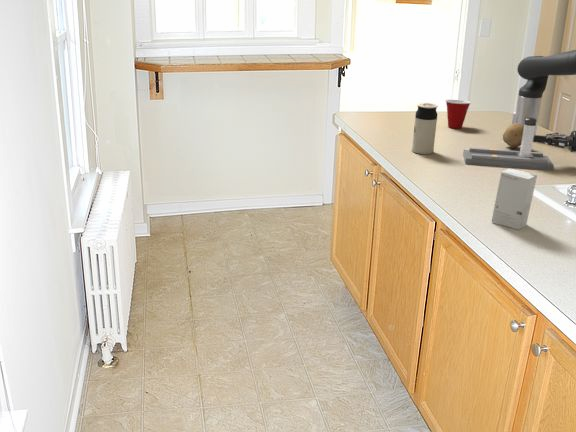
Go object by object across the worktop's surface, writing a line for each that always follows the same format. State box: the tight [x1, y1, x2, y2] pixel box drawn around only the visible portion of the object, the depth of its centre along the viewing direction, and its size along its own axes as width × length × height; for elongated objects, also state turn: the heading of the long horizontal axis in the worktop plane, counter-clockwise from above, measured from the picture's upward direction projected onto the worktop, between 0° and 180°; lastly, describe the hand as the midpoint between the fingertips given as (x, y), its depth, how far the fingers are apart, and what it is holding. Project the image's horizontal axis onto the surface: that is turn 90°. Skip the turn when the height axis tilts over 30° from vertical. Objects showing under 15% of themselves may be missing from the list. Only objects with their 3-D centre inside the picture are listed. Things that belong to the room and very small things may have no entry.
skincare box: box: [491, 167, 538, 230], centre depth 181 cm, size 8×6×15 cm
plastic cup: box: [444, 99, 472, 130], centre depth 288 cm, size 11×11×12 cm
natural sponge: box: [502, 123, 524, 149], centre depth 258 cm, size 9×9×10 cm
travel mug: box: [411, 102, 439, 155], centre depth 248 cm, size 8×8×18 cm
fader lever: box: [516, 118, 537, 158], centre depth 237 cm, size 5×6×14 cm
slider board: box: [462, 147, 554, 171], centre depth 240 cm, size 30×12×3 cm, turn 80°
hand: (534, 138), depth 236 cm, fingers closed
